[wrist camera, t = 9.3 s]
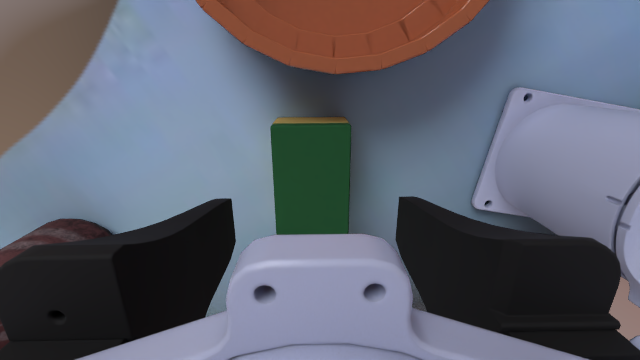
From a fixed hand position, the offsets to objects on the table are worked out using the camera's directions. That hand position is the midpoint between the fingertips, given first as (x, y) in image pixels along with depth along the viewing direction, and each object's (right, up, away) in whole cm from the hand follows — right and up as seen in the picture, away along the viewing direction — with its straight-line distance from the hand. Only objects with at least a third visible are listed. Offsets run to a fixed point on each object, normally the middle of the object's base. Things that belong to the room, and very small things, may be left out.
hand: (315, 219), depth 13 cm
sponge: (0, +3, +7) cm, 8 cm away
